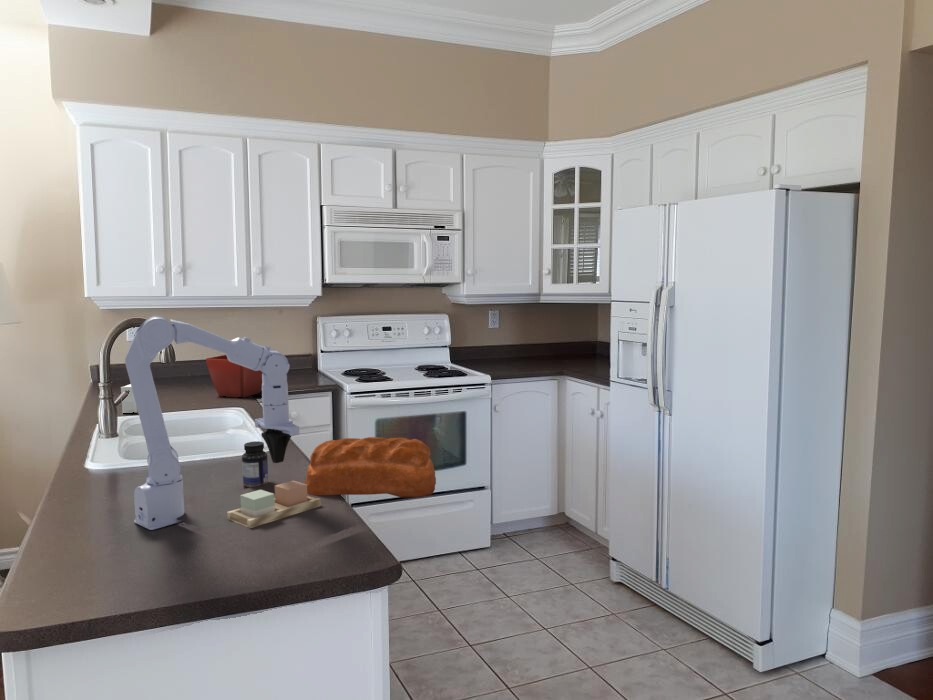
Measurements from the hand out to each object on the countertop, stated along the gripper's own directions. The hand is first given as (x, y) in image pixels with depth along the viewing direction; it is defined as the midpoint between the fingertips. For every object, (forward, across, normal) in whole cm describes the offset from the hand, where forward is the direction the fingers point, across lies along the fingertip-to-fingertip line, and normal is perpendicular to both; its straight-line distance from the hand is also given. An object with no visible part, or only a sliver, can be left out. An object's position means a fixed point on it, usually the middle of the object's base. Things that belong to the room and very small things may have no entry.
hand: (278, 461), depth 167 cm
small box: (+10, +137, -29) cm, 140 cm away
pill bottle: (+10, +16, -4) cm, 19 cm away
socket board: (+10, -7, +6) cm, 14 cm away
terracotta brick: (+9, -7, +2) cm, 11 cm away
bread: (+10, -8, -21) cm, 25 cm away
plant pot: (+10, +138, -75) cm, 157 cm away
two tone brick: (+9, -7, +10) cm, 15 cm away
